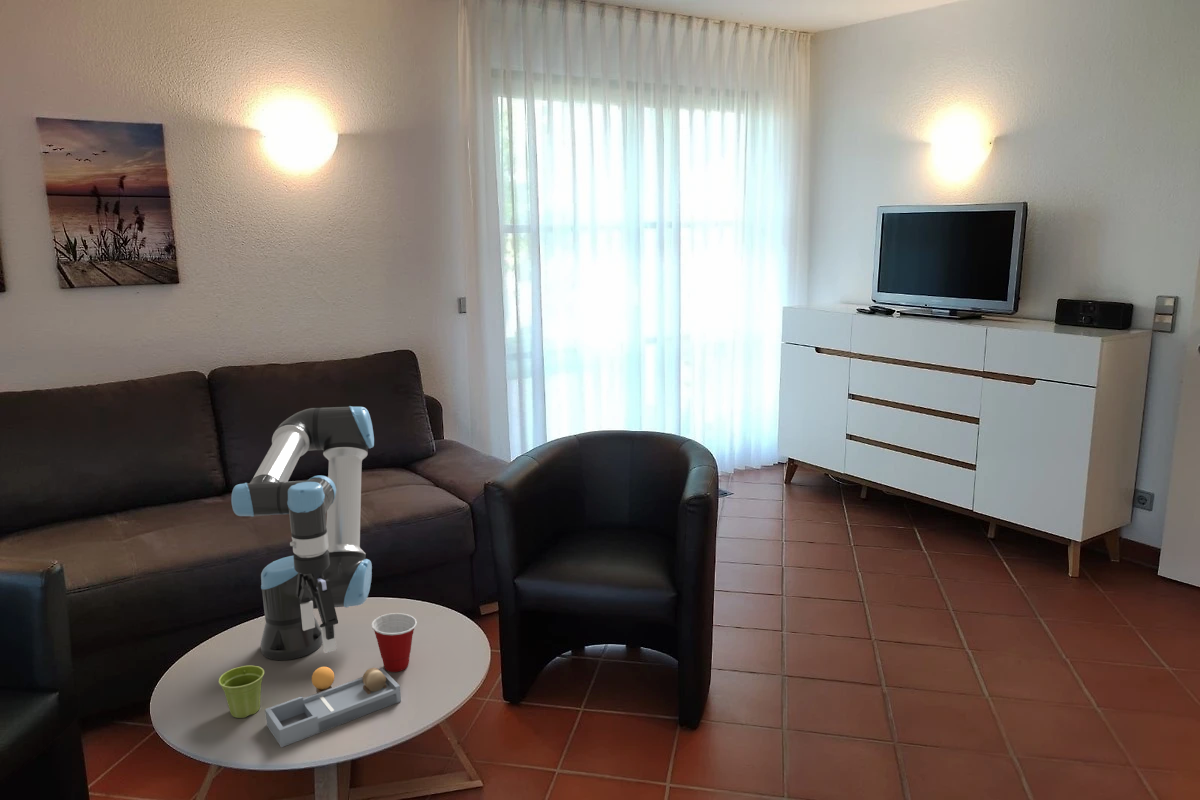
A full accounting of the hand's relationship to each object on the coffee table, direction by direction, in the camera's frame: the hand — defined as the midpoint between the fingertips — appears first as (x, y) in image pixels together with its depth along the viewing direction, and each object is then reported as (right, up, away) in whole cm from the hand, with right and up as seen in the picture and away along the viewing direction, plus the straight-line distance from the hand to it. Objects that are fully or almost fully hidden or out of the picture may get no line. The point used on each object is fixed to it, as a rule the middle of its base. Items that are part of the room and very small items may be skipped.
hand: (319, 639), depth 190 cm
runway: (+5, -16, -3) cm, 17 cm away
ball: (0, -10, +2) cm, 10 cm away
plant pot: (-16, -16, -2) cm, 23 cm away
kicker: (+12, -12, +2) cm, 17 cm away
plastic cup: (+14, -11, +16) cm, 24 cm away
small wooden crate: (0, -14, +3) cm, 15 cm away
